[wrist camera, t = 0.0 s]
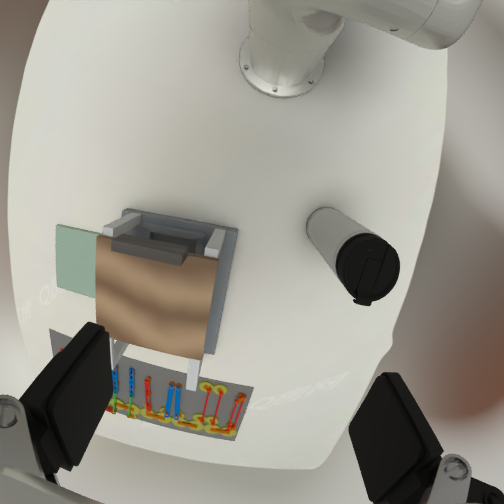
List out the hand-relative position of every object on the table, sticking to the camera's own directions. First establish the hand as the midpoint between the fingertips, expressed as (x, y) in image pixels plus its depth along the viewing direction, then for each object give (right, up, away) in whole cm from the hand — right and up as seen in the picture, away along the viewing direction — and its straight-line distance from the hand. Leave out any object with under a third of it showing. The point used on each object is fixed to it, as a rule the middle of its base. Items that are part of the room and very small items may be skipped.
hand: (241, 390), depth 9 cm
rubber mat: (-30, +3, +37) cm, 48 cm away
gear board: (-23, -26, +47) cm, 58 cm away
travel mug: (+12, +8, +36) cm, 39 cm away
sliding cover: (-12, -1, +26) cm, 29 cm away
